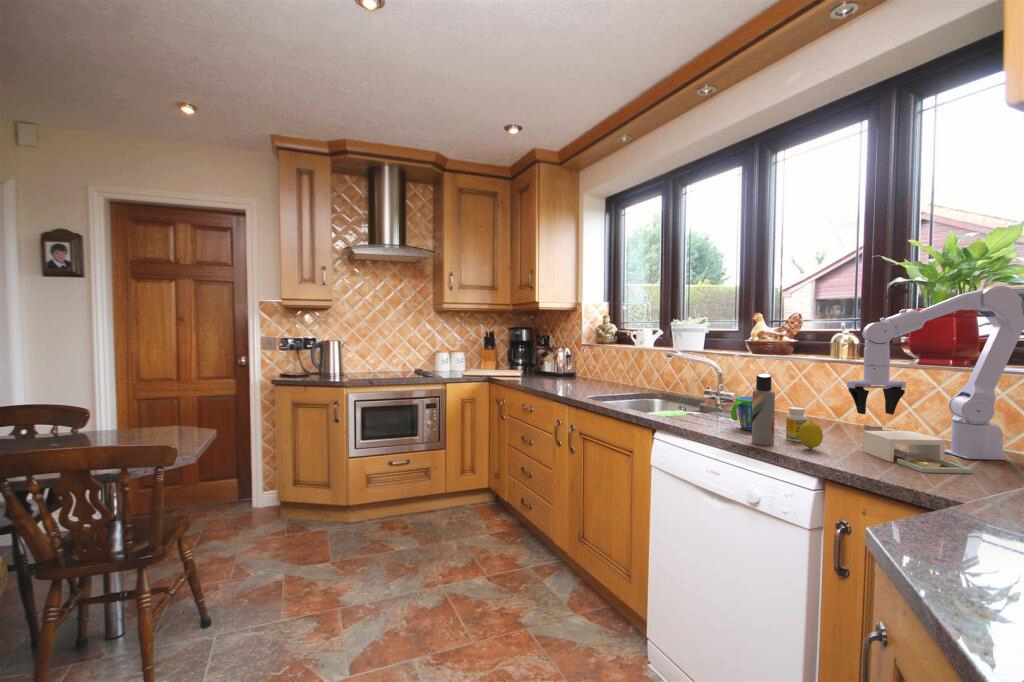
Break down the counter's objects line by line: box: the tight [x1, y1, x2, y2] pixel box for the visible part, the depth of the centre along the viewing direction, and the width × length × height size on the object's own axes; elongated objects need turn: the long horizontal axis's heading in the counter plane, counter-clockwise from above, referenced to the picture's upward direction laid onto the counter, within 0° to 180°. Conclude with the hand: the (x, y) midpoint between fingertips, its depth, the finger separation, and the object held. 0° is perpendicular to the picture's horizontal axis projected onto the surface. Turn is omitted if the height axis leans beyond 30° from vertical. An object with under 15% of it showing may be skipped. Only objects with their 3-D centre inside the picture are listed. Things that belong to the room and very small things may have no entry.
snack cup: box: [730, 396, 753, 432], centre depth 156 cm, size 16×10×10 cm
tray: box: [896, 458, 973, 474], centre depth 113 cm, size 11×8×1 cm
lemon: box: [799, 420, 824, 450], centre depth 130 cm, size 6×6×8 cm
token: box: [913, 459, 942, 467], centre depth 115 cm, size 5×5×1 cm
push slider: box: [863, 423, 931, 463], centre depth 126 cm, size 18×6×6 cm, turn 177°
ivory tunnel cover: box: [861, 430, 946, 463], centre depth 123 cm, size 13×10×6 cm
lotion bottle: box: [751, 373, 776, 447], centre depth 136 cm, size 6×6×20 cm
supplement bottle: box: [785, 406, 808, 443], centre depth 141 cm, size 5×5×10 cm
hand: (875, 413), depth 132 cm, fingers open, 7 cm apart
